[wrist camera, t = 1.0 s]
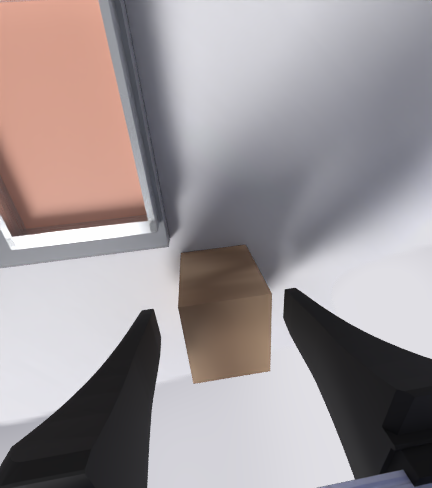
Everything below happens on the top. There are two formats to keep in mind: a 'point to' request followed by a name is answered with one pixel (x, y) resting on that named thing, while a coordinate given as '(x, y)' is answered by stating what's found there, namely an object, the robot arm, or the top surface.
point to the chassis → (73, 135)
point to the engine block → (224, 313)
